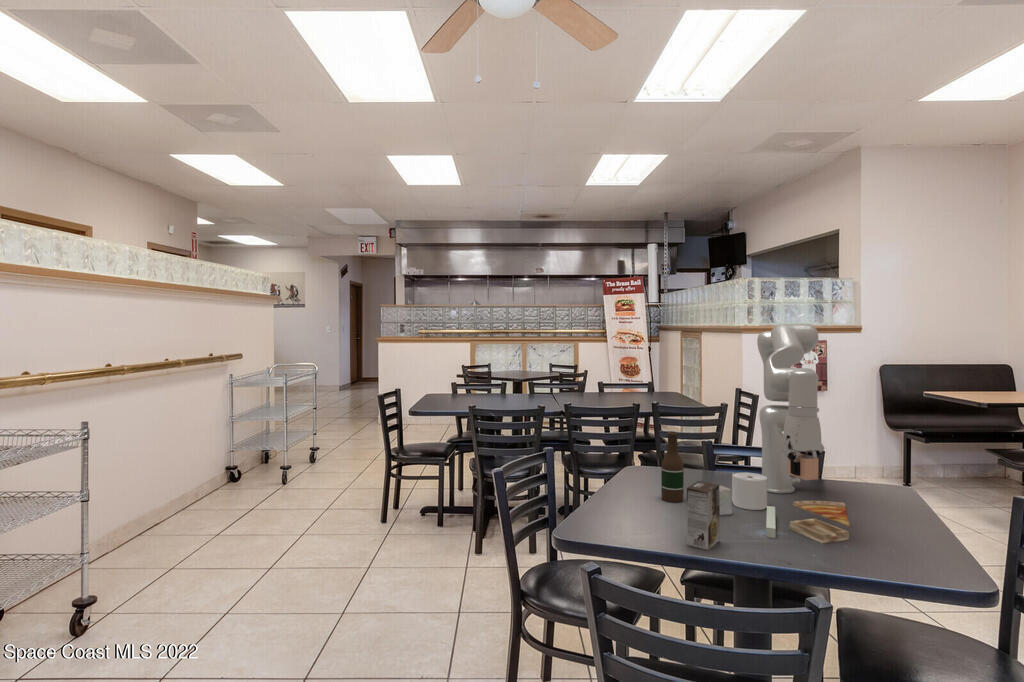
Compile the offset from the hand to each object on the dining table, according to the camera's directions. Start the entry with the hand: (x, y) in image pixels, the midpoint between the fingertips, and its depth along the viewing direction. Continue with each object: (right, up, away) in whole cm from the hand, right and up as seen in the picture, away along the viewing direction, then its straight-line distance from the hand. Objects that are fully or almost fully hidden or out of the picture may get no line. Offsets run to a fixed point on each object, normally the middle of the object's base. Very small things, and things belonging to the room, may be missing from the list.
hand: (802, 473), depth 163 cm
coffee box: (-32, -18, -8) cm, 37 cm away
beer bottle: (-29, -17, +33) cm, 47 cm away
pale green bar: (-7, -17, +6) cm, 19 cm away
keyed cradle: (+4, -17, -2) cm, 18 cm away
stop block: (0, -1, 0) cm, 1 cm away
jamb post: (-18, -17, +18) cm, 31 cm away
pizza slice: (+15, -18, +18) cm, 29 cm away
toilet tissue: (-5, -17, +26) cm, 32 cm away
